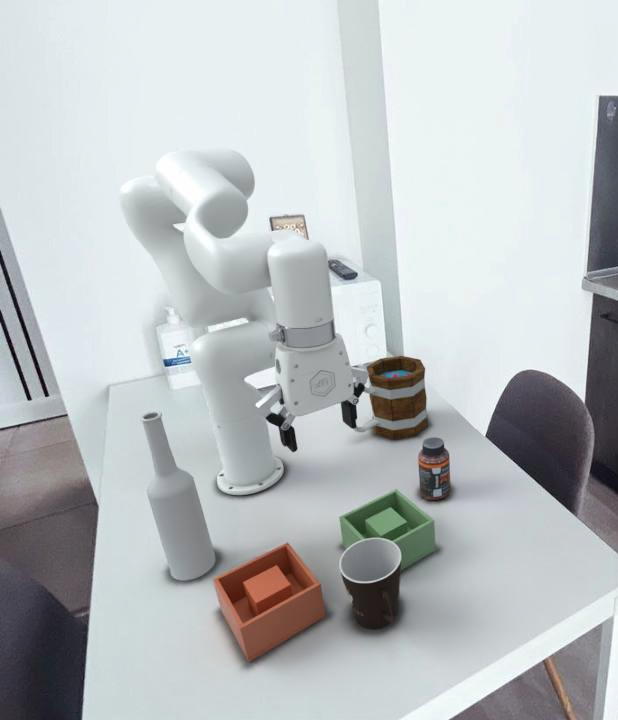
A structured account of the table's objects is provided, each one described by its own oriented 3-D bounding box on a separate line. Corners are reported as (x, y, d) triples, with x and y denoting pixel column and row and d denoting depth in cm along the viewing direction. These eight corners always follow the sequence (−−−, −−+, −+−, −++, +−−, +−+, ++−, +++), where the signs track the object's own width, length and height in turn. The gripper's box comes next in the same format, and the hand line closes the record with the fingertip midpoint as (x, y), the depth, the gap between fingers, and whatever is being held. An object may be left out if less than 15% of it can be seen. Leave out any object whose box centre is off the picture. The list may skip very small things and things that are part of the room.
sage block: (367, 543, 92) (364, 520, 90) (392, 529, 95) (390, 506, 93) (383, 559, 88) (381, 535, 86) (409, 545, 91) (407, 521, 89)
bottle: (217, 546, 93) (179, 401, 81) (214, 574, 87) (173, 422, 76) (173, 556, 91) (128, 408, 79) (168, 585, 85) (118, 431, 74)
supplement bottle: (446, 503, 103) (444, 452, 98) (416, 499, 104) (412, 449, 99) (454, 484, 108) (452, 435, 103) (425, 481, 109) (422, 432, 104)
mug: (408, 405, 138) (404, 351, 132) (440, 426, 128) (437, 368, 122) (337, 432, 126) (329, 374, 120) (366, 457, 117) (360, 395, 111)
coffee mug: (350, 590, 84) (343, 539, 80) (406, 586, 84) (402, 535, 80) (339, 658, 73) (330, 603, 69) (403, 653, 74) (398, 598, 70)
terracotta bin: (221, 610, 80) (212, 578, 78) (293, 572, 87) (287, 541, 85) (248, 662, 73) (240, 628, 70) (326, 616, 79) (320, 583, 77)
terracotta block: (249, 607, 80) (242, 582, 78) (282, 589, 83) (276, 564, 81) (262, 629, 77) (255, 603, 75) (296, 609, 80) (290, 584, 78)
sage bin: (343, 546, 92) (339, 516, 90) (398, 517, 99) (396, 488, 97) (378, 584, 85) (374, 553, 82) (435, 550, 91) (434, 520, 89)
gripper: (256, 356, 68) (276, 469, 75) (375, 324, 78) (383, 426, 85) (234, 339, 73) (255, 446, 80) (349, 310, 83) (358, 408, 90)
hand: (321, 435), depth 83 cm, fingers open, 9 cm apart
